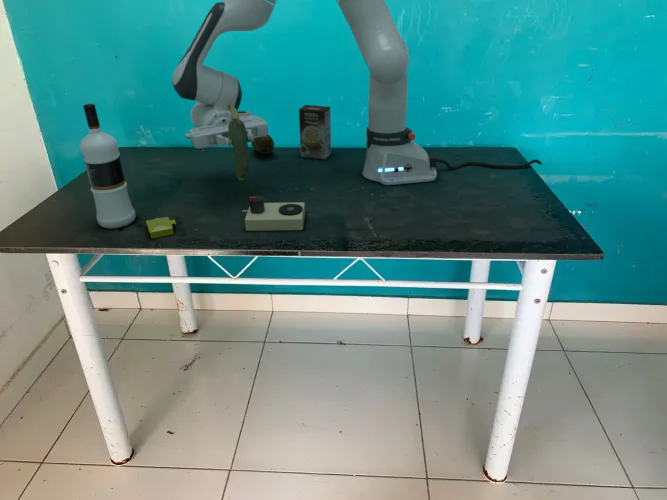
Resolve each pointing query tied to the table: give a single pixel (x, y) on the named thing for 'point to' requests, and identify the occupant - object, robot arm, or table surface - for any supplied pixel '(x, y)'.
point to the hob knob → (257, 204)
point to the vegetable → (239, 143)
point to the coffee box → (315, 131)
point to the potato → (263, 144)
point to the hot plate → (274, 218)
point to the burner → (290, 209)
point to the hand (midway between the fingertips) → (240, 140)
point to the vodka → (105, 175)
